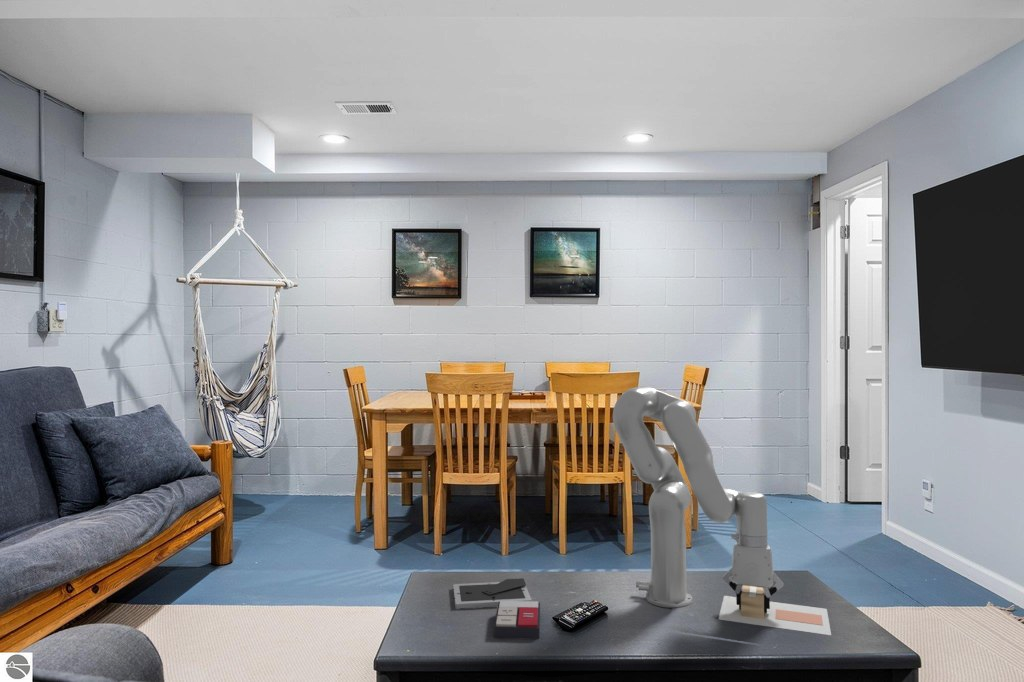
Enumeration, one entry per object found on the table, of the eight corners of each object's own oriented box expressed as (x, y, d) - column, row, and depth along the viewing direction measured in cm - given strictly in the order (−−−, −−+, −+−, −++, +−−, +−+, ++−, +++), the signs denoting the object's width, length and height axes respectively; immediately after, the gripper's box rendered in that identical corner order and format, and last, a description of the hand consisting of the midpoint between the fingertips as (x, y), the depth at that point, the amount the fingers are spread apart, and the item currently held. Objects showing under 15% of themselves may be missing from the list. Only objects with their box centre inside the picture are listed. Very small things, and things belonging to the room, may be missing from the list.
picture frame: (523, 587, 194) (453, 591, 191) (523, 578, 194) (453, 581, 191) (531, 607, 178) (455, 611, 175) (531, 597, 178) (455, 601, 175)
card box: (763, 618, 167) (763, 598, 167) (741, 615, 169) (740, 595, 169) (764, 606, 175) (764, 587, 175) (743, 603, 177) (742, 584, 177)
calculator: (493, 624, 157) (498, 598, 172) (493, 641, 157) (498, 614, 172) (539, 625, 157) (540, 599, 172) (539, 642, 157) (540, 615, 172)
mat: (718, 621, 167) (718, 618, 167) (724, 597, 183) (724, 595, 183) (831, 637, 157) (831, 634, 157) (826, 610, 174) (826, 608, 174)
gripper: (716, 540, 172) (717, 609, 172) (787, 547, 166) (788, 619, 165) (719, 533, 179) (720, 600, 179) (787, 539, 173) (788, 609, 172)
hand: (753, 608), depth 172 cm, fingers closed on card box, 5 cm apart
